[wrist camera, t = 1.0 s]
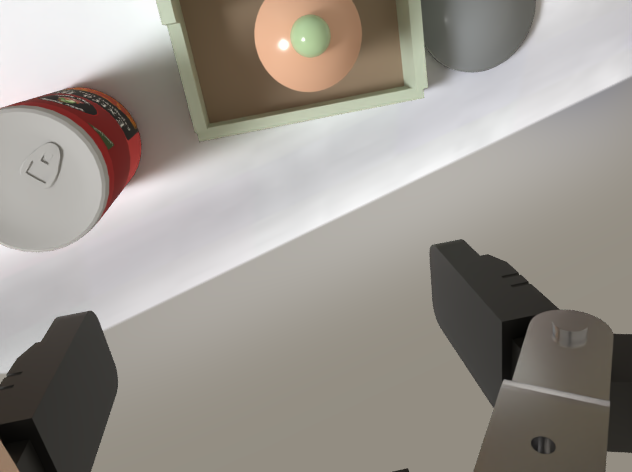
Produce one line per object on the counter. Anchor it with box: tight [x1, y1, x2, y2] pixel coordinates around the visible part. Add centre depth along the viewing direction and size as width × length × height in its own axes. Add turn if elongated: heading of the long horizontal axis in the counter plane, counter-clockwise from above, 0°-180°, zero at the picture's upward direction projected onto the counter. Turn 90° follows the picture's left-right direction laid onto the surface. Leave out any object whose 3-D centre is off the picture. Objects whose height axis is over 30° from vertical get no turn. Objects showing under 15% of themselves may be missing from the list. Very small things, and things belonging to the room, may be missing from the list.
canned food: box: [0, 88, 141, 252], centre depth 32 cm, size 8×8×11 cm
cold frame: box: [156, 0, 428, 142], centre depth 32 cm, size 12×16×8 cm
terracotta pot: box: [254, 0, 362, 92], centre depth 31 cm, size 6×6×9 cm
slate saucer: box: [421, 0, 536, 72], centre depth 37 cm, size 8×8×1 cm
